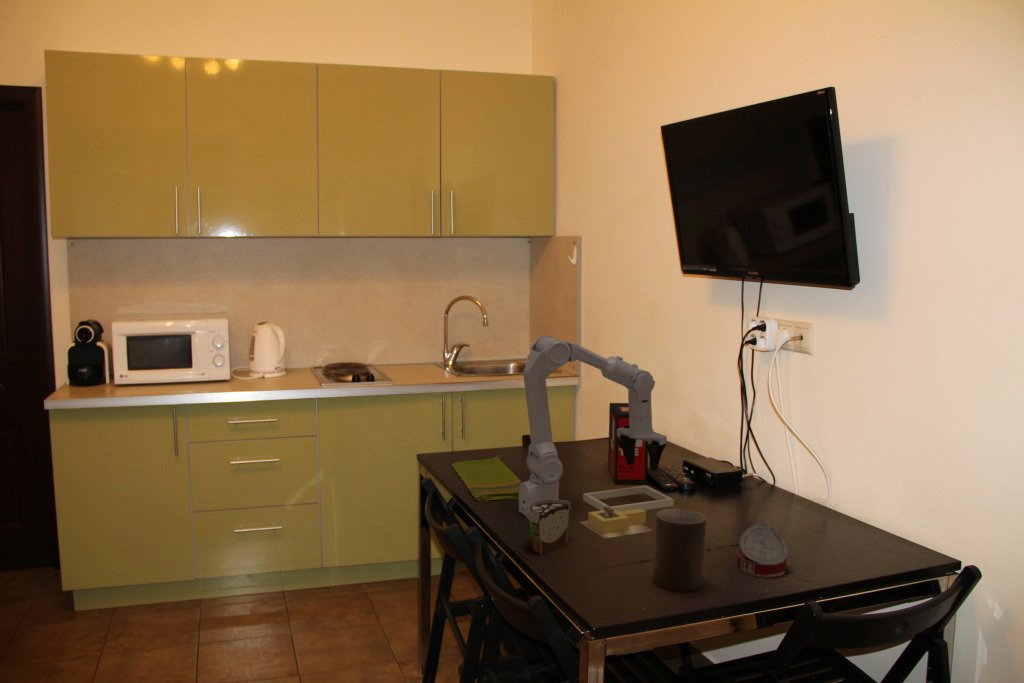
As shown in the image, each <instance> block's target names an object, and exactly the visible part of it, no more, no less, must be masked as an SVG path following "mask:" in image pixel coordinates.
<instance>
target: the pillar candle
mask: <svg viewBox="0 0 1024 683" xmlns="http://www.w3.org/2000/svg"><path fill="white" fill-rule="evenodd" d="M706 521H707V518H706V516H705V515H704V514H703V513H700V512H698V511H695V510H690V509H684V508H683V509H682V508H681V509H680V508H665V509H663V510H660V511H658V512H657V513H656V525H655V543H654V544H655V547H654V566H653V580H654V583H655V584H656V585H657V586H659V587H661V588H662V589H664V590H665V589H666V590H669V591H675V592H682V593H687V592H693V591H697V590H699V589H701V588H702V587H703V585H704V568H705V567H704V564H705V548H706V547H705V546H706V545H705V544H706V524H707V523H706Z"/></svg>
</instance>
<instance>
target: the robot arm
mask: <svg viewBox="0 0 1024 683" xmlns="http://www.w3.org/2000/svg"><path fill="white" fill-rule="evenodd" d="M529 350H530V352H529V356H528V358H527V361H526V363H525V366H524V369H523V374H522V376H523V383H524V391H525V392H524V393H525V398H526V399H525V400H526V407H527V415H528V417H527V418H528V423H529V432H530V434H529V435H530V443H529V445H528V455H527V458H526V467H527V469H528V470H529V472H530V475H529V479H528V480H526V481H524V482H522V483H521V484H520V487H519V499H518V512H519V513H521V514H522V515H524V516H525V517H526V518H527V516H526V515H527V511H528V508H529V506H530V504H532V503H534V502H536V501H540V500H547V499H559V498H560V496H559V490H560V489H559V488H560V478H561V477H562V475H563V471H564V466H563V463H562V461H561V460H560V459H559V456H558V451H557V448H556V446H555V444H554V442H553V433H552V432H553V431H552V425H551V424H552V423H551V416H550V407H549V398H548V389H547V381H546V380H547V379H548V377H549V376H550V375H551V374H552V373H553V372H555V371H556V370H557V369H559V368H561V367H563V366H564V365H565V364H567V363H568V362H569V363H572V362H576V361H578V362H580V363H583V364H586V365H589V366H591V367H593V368H595V369H598V370H600V372H601V374H602V377H604V379H607V380H610V381H612V382H614V383H616V384H618V385H621V386H622V387H625V388H626V389H627V393H628V395H627V396H628V397H627V398H628V400H627V401H628V403H629V425H630V429H628V428H619V429H617V436H618V437H621V438H620V439H618V440H617V442H618V444H619V445H620V447H621V449H622V451H623V453H624V455H625V458H626V462H627V465H628V466H630V465H633V464H634V463H635V444H636V439H638V440H644V441H648V445H646V447H647V450H648V459H649V468H650V472H654V471H655V472H656V471H657V470H658V469H659V466H660V465H659V464H660V460H661V458H662V454H663V452H664V450H665V448H666V446H667V435H664V434H661V433H659V432H656V431H654V429H653V413H652V410H653V409H652V391H653V389H654V387H655V385H656V380H654V377H653V375H652V374H651V373H650V372H649V371H647V370H644V369H641V368H639V365H637V364H636V363H632V364H631V363H629V362H626V361H625V360H624V358H623V357H622V356H619V355H616V356H613V355H612V356H609V357H606V358H605V357H603V356H601V355H600V354H597V353H596V352H593V351H591V350H589V349H587V348H585V346H582V345H579V344H576V343H573V342H570V341H567V340H566V341H565V340H562V339H558V338H554V337H552V336H550V335H549V336H548V335H544V336H541V337H538V338H537V340H536V341H535V342H534V343H533V344H532V345H531V346H530V349H529ZM559 500H560V499H559Z"/></svg>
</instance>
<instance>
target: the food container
mask: <svg viewBox="0 0 1024 683" xmlns="http://www.w3.org/2000/svg"><path fill="white" fill-rule="evenodd" d="M571 505H572V504H571V501H570V500H567V499H566V500H565V499H547V500H540V501H536V502H534V503H532V504H530V506H529V508H528V511H527V515H526V516H527V517H526V516H525V517H526V518H527V519H528V521H529V526H530V527H529V528H530V543H531V549H532V550H533V552H534V553H537V554H539V555H542V554H545V553H546V552H548V551H550V550H552V549H556V547H560V546H561V545H564V544H565V543H567V542H568V534H569V532H568V531H569V520H570V510H572V506H571Z"/></svg>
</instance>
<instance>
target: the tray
mask: <svg viewBox="0 0 1024 683" xmlns="http://www.w3.org/2000/svg"><path fill="white" fill-rule="evenodd" d="M641 494H645V495H646V496H649V497H651V498H653V499H655V500H647V501H642V502H635V503H628V504H621V505H620V504H619V505H614V506H610V505H608V504H606V503H605V502H602V500H604V499H612V498H619V497H625V496H633V495H641ZM582 498H583V499H582V501H583V502H586V503H587V504H589V505H590V506H592V507H594V508H596V509H597V510H598V511H601V510H604V506H609V507H610V508H612V509H615V510H617V511H626V510H633V509H642V510H644V511H649V510H655V509H661V508H669V507H674V504H675V503H674V502H675V499H674V498H672V497H671V496H668V495H665V494H664V493H662V492H660V491H658V490H656V489H654V488H652V487H650V486H648V485H636V486H630V487H624V488H622V487H621V488H617V489H609V490H600V491H591V492H585V493H583V494H582Z"/></svg>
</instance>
